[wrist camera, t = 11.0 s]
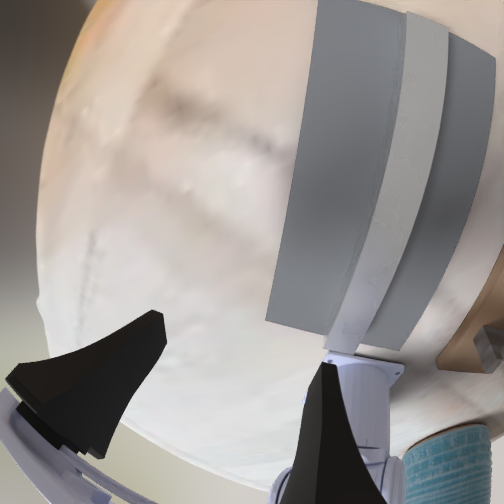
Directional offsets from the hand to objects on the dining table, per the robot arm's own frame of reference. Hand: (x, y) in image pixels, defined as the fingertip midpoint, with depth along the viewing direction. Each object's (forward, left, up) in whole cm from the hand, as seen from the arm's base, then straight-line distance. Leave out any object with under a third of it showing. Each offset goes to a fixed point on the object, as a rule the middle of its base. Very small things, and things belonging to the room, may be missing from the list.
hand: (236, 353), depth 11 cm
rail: (+6, -6, -9) cm, 12 cm away
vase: (-27, -35, -10) cm, 45 cm away
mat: (+6, -6, -9) cm, 13 cm away
